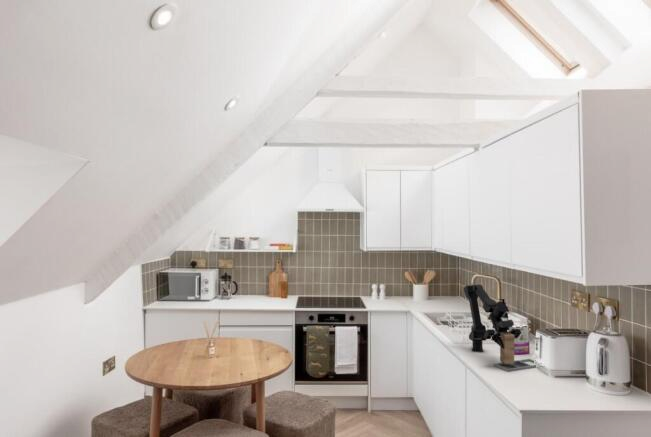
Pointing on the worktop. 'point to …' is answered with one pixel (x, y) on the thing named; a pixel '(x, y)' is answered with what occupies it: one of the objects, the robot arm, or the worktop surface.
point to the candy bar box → (521, 339)
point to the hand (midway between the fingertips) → (508, 348)
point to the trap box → (516, 365)
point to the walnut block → (507, 348)
